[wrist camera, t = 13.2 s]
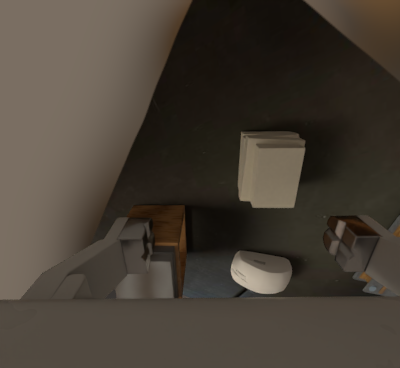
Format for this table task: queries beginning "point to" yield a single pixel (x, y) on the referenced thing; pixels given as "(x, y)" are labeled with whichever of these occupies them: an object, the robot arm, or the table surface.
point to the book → (373, 286)
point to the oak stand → (160, 255)
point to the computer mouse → (261, 272)
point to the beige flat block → (276, 175)
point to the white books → (248, 154)
